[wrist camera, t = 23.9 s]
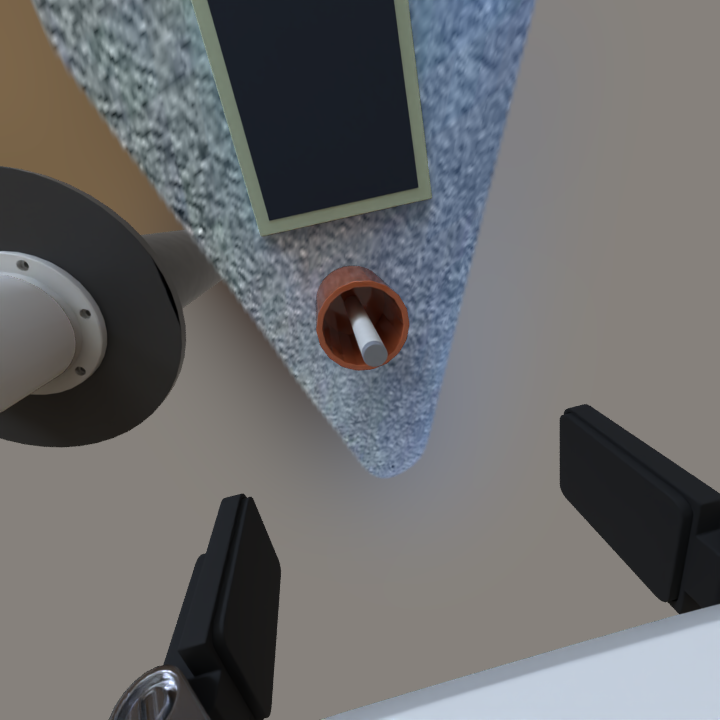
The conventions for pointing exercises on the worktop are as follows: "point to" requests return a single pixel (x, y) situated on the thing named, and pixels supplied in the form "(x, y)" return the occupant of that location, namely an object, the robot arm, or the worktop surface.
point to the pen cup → (378, 305)
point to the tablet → (319, 105)
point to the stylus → (365, 333)
